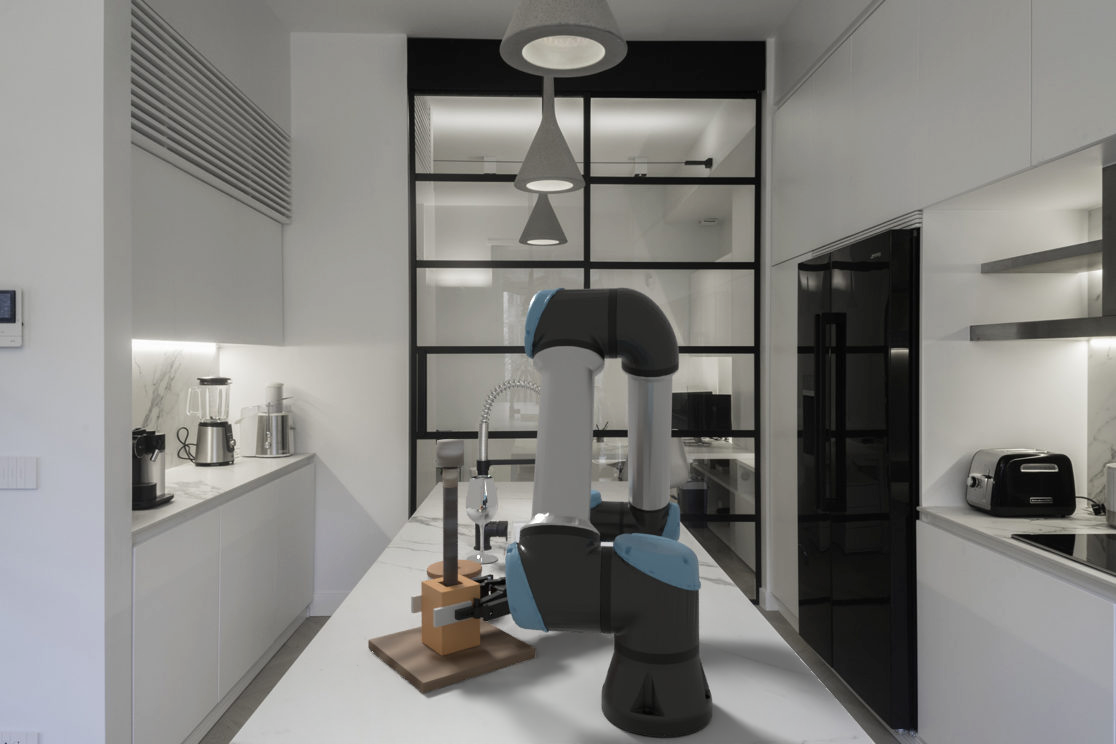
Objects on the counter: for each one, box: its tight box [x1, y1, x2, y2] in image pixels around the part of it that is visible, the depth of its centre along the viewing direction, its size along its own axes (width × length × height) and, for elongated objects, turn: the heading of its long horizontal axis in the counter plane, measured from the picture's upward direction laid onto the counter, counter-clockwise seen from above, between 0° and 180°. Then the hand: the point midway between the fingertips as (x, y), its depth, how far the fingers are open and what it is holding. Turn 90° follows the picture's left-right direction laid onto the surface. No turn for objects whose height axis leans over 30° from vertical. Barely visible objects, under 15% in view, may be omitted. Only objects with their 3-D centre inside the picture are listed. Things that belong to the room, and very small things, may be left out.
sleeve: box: [420, 574, 480, 656], centre depth 116 cm, size 7×7×10 cm
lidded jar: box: [426, 559, 483, 581], centre depth 138 cm, size 11×11×9 cm
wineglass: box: [465, 474, 499, 565], centre depth 171 cm, size 8×8×20 cm
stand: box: [367, 438, 537, 694], centre depth 116 cm, size 20×20×35 cm
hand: (423, 611), depth 113 cm, fingers closed on sleeve, 7 cm apart
